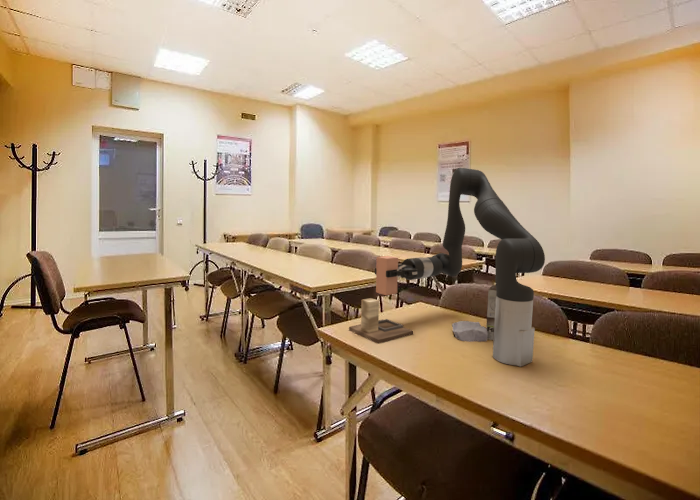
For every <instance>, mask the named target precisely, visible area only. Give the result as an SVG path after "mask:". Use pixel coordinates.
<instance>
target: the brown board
mask: <svg viewBox="0 0 700 500" xmlns="http://www.w3.org/2000/svg"><path fill="white" fill-rule="evenodd" d="M380 320H384V319H379V320H378V321H380ZM378 326H379V327H382V328H384V329H386V328H390V327H394V326H396V325H393V324H390V323H388V322H384V323H380V324H378ZM348 331H350V332H352V333H354V334H356V335H359V336H360V337H363V338H365V339H367V340H369V341H372V342H374V343H376V344H377V345H378V344H382V343H385V342H389V341H394V340H398V339H401V338H405V337H408V336H413V335H414V330H413V329H410V328H407V327H405V326H403V328H399V329H395V330H390V331H386V332H384V331H381V330H379V329H378V331H375V332H371V333H368V332H365V331H363V330H361V323H360V324H356V325H351V326H348Z"/></svg>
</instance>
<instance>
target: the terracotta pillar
mask: <svg viewBox="0 0 700 500" xmlns="http://www.w3.org/2000/svg"><path fill="white" fill-rule="evenodd" d="M375 264H376V269H377V270H376V275H375V280H376V281H375V282H376V283H375V293H377V294H380V295H383V296H384V295H385V296H389V295H395V294H398V278H399V277H386V271H387V270H396V269H398V264H399V257H397V256H393V255H392V256H391V255H383V256H382V255H381V256H376V263H375Z"/></svg>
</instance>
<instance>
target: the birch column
mask: <svg viewBox="0 0 700 500" xmlns="http://www.w3.org/2000/svg"><path fill="white" fill-rule="evenodd" d="M360 301H361V306H360V308H361V309H360V310H361V313H360V317H361V319H360V324H361V330H363V331H365V332H368V333H371V332H375V331H378V320H380V319H379V317H380V314H379V313H380V311H379V309H380V304H379V303H380V300H378V299H375V298H372V297H370V298H364V299H361V300H360Z"/></svg>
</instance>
